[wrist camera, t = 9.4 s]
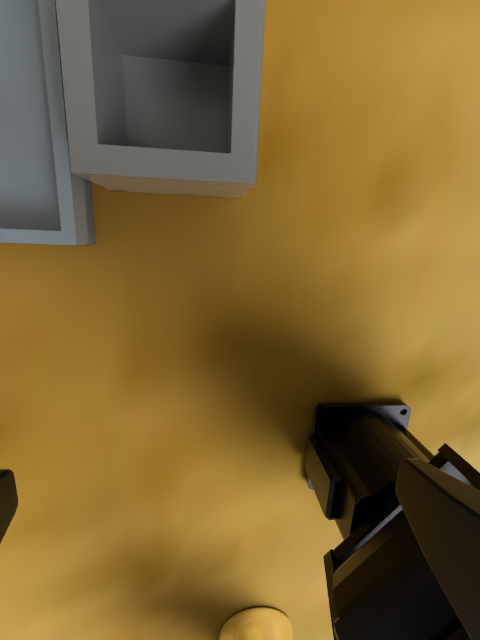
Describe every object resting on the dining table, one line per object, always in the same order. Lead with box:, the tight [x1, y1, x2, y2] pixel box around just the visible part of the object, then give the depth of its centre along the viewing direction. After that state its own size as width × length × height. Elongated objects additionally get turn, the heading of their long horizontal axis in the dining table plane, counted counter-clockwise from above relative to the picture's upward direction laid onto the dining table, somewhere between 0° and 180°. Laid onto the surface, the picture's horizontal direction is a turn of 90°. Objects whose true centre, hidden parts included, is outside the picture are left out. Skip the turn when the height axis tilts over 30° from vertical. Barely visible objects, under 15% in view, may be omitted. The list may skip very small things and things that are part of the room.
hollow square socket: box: [56, 0, 265, 198], centre depth 13 cm, size 7×7×5 cm
